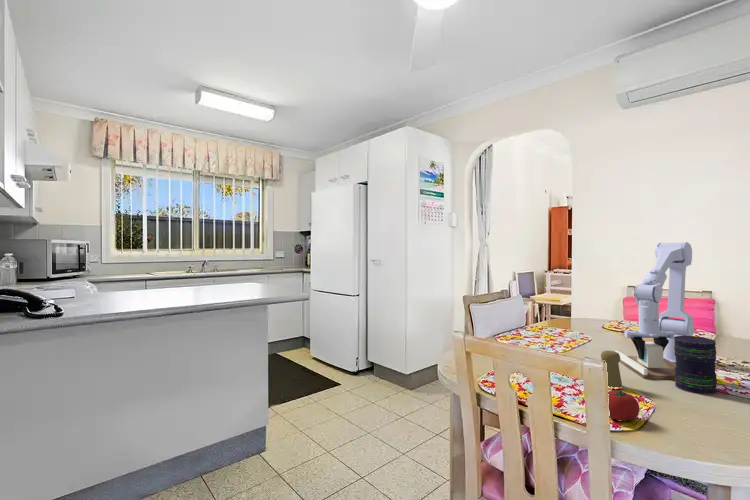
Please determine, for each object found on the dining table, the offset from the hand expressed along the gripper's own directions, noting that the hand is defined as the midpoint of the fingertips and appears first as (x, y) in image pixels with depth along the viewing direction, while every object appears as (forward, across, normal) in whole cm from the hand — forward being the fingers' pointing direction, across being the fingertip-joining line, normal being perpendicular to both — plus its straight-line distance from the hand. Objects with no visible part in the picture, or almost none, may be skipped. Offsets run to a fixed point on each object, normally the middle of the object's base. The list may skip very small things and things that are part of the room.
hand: (649, 358), depth 131 cm
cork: (+5, -18, -15) cm, 24 cm away
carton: (+2, 0, 0) cm, 2 cm away
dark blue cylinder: (+5, +6, -14) cm, 16 cm away
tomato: (+5, -25, -38) cm, 46 cm away
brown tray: (+5, +3, +4) cm, 7 cm away
